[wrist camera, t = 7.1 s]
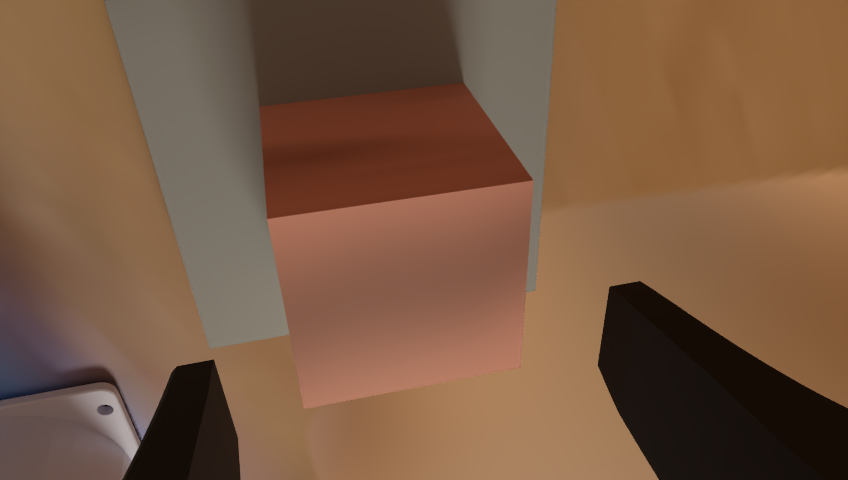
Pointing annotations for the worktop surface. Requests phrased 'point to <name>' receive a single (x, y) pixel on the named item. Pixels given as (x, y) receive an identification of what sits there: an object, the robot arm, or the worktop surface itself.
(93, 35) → the worktop surface
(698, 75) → the worktop surface
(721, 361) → the robot arm
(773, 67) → the worktop surface
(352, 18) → the grey block
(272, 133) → the red cube
